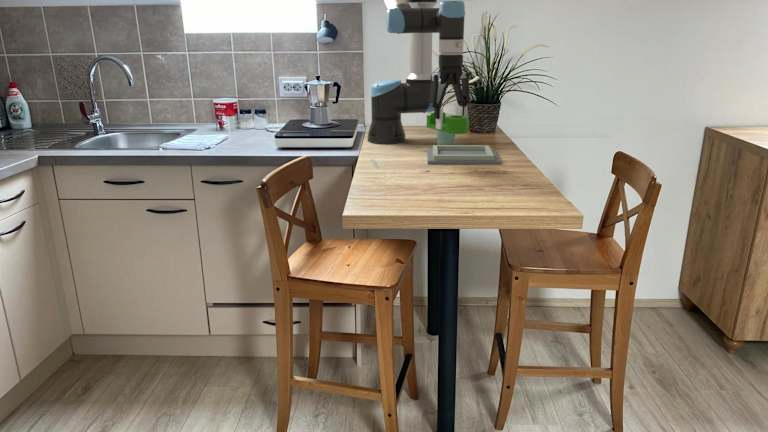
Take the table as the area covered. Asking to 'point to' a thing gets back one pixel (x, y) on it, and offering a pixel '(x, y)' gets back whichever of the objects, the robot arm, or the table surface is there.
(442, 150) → the slot board
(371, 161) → the butter knife
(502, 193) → the table surface
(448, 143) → the coffee cup
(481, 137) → the table surface
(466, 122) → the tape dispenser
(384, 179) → the table surface
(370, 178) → the table surface
